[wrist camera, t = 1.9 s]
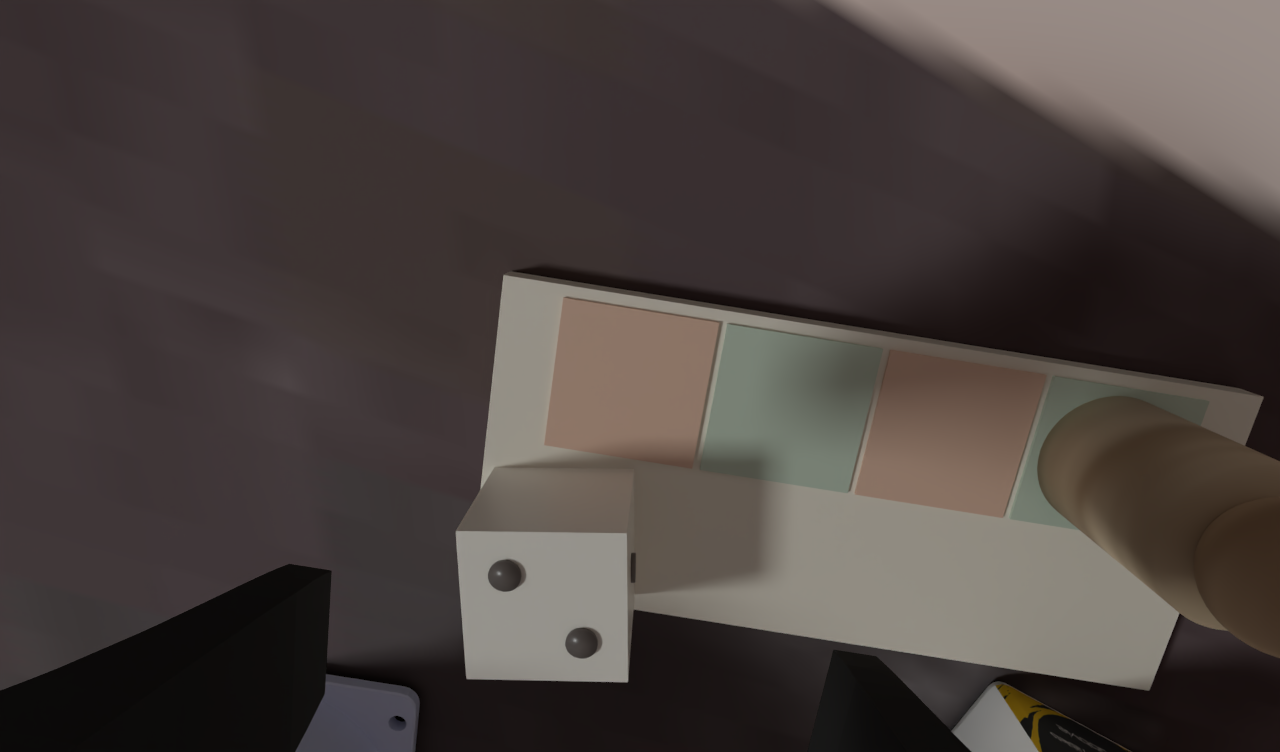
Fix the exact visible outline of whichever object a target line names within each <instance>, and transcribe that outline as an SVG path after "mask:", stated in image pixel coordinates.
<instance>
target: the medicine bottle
mask: <svg viewBox="0 0 1280 752" xmlns="http://www.w3.org/2000/svg"><path fill="white" fill-rule="evenodd" d="M951 732H952V733H953V734H954V735H955V736H956V737H957V738H958V739H959V740H960V741H961V742H962V743H963V744H964V745H965V746H966V747H967V748H968V749H969V750H970V751H971V752H1132V751H1130V750H1128V749H1126V748H1124V747H1122V746H1121V745H1119V744H1117V743H1115V742H1113V741H1111V740H1110V739H1108V738H1106V737H1104V736H1102V735H1100V734H1098V733H1097V732H1095V731H1093V730H1091V729H1089V728H1087V727H1086V726H1084V725H1082V724H1080V723H1078V722H1076V721H1075V720H1073V719H1071V718H1069V717H1067V716H1065V715H1063V714H1062V713H1060V712H1058V711H1056V710H1054V709H1052V708H1051V707H1049V706H1047V705H1045V704H1043V703H1041V702H1040V701H1038V700H1036V699H1034V698H1032V697H1030V696H1028V695H1027V694H1025V693H1023V692H1021V691H1019V690H1017V689H1016V688H1014V687H1012V686H1010V685H1008V684H1006V683H1004V682H1000V681H997V682H993V683H991V684H990V685H989V686H988V687H987V688H986V689H985V690H984V692H983V693H982V694H981V695H980V697H979V698H978V699H977V700H976V701H975V703H974V704H973V705H972V706H971V707H970V709H969V710H968V711H967V712H966V714H965V715H964V716H963V717H962V718H961V720H960V721H959V722H958V723H957V725H956V726H955V727H954V728H953V729H952V731H951Z"/></svg>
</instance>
